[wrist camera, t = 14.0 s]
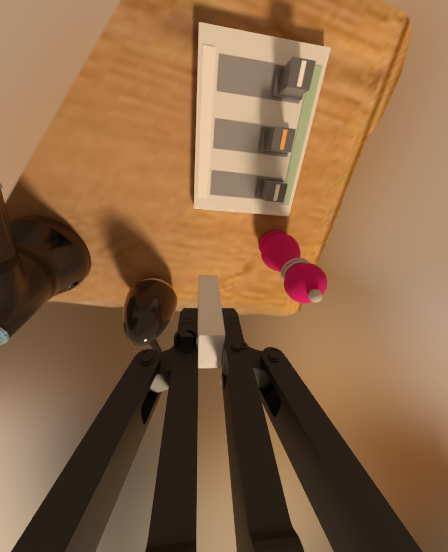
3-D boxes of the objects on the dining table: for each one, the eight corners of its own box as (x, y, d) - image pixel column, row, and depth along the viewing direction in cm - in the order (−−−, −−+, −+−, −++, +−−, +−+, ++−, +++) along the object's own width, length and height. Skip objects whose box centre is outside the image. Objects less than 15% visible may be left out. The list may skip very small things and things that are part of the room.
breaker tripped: (258, 151, 34) (266, 150, 30) (262, 127, 32) (271, 123, 28) (284, 154, 34) (295, 154, 30) (289, 131, 33) (301, 127, 29)
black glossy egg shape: (153, 315, 51) (136, 370, 38) (122, 284, 46) (91, 335, 33) (187, 296, 49) (182, 347, 36) (160, 263, 44) (142, 307, 31)
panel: (194, 206, 39) (193, 208, 37) (199, 30, 28) (198, 21, 26) (285, 213, 42) (289, 216, 40) (323, 53, 30) (331, 47, 29)
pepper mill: (268, 221, 42) (314, 267, 25) (296, 236, 44) (357, 287, 27) (250, 251, 45) (280, 311, 28) (277, 264, 47) (321, 326, 30)
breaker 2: (271, 96, 31) (281, 87, 27) (276, 67, 29) (288, 52, 25) (299, 101, 31) (314, 93, 27) (306, 72, 30) (322, 59, 26)
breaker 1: (255, 197, 37) (261, 202, 33) (258, 177, 36) (265, 180, 32) (278, 199, 38) (287, 204, 34) (282, 180, 36) (292, 183, 32)
